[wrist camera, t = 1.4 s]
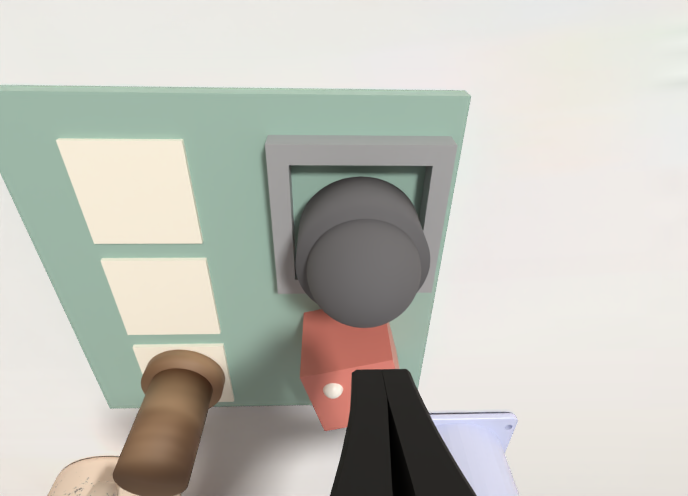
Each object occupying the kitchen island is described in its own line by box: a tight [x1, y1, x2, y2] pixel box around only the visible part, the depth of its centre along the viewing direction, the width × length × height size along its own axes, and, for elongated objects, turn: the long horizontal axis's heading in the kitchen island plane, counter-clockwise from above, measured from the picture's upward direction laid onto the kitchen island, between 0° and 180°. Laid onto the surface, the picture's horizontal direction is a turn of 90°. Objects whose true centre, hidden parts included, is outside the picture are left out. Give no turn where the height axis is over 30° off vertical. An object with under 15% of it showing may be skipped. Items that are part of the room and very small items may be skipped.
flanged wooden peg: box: [113, 350, 225, 496], centre depth 21 cm, size 4×4×6 cm
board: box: [0, 85, 471, 409], centre depth 20 cm, size 18×18×2 cm
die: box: [300, 309, 400, 431], centre depth 20 cm, size 4×4×4 cm
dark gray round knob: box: [296, 176, 430, 328], centre depth 15 cm, size 5×5×5 cm
